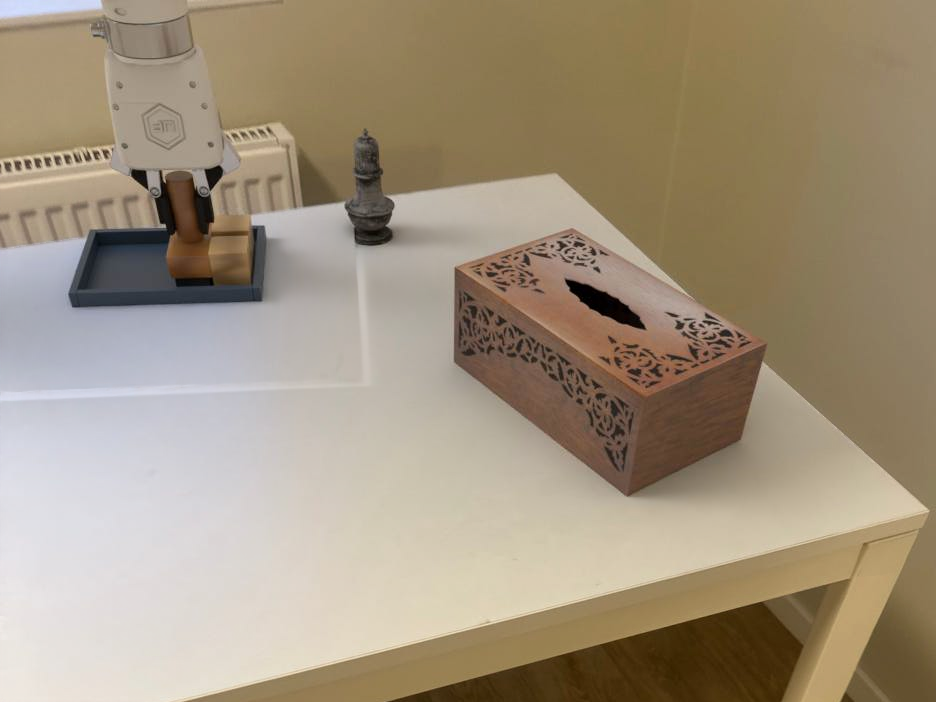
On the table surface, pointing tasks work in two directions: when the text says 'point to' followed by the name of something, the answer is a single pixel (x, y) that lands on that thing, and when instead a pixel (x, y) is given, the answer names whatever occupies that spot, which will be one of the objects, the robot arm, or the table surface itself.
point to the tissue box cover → (604, 356)
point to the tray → (148, 272)
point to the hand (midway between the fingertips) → (188, 227)
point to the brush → (187, 235)
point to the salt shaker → (369, 195)
